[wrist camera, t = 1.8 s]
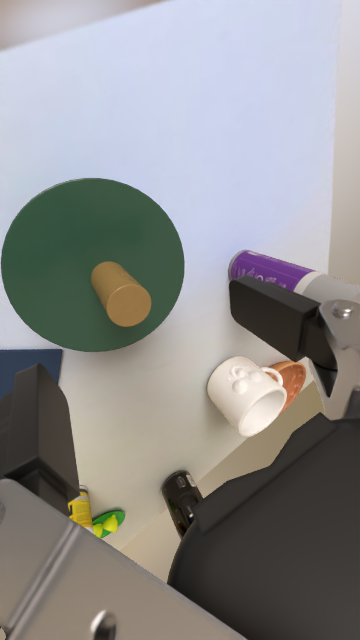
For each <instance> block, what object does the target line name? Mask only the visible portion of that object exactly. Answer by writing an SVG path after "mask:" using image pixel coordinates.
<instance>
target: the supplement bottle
mask: <svg viewBox="0 0 360 640" xmlns="http://www.w3.org/2000/svg"><path fill="white" fill-rule="evenodd" d="M79 487H80V494H81V495H80V496H79V497H77V498H76V499H74V500H72V501H71V502H69V503H68V509H69V518H70V519H72V520H73V521H75V522H77V523H78V524H80V525H81V526H83V527H84V528H86V529H87V530H89V531H90V532H92V533H94V529H93V523H92V517H91V510H90V504H89V497H88V491H87V488H86V487H84V486H79Z"/></svg>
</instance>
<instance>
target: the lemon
mask: <svg viewBox="0 0 360 640" xmlns="http://www.w3.org/2000/svg"><path fill="white" fill-rule="evenodd" d="M124 517H125V514H124V513H123V512H121V511H114V512H109V513H106V514H103V515H101V516H100V517H98V518H97V519H95V520H94V521H93V522H92V523H93V529H94V533H93V534H95V535H96V536H98V537H99V538H103V537H105V536H106V535H108V534H110V533H111V532H117V529H118V526H119V525H120V524H121V523H122V522H123V520H124Z"/></svg>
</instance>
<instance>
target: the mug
mask: <svg viewBox="0 0 360 640" xmlns="http://www.w3.org/2000/svg"><path fill="white" fill-rule="evenodd" d="M265 372H269V373H272V374H273V375H275V376H276V378H277V380H278V382H276V381H275V380H274V379H273V378H271V377H270V376H269V375H268V374H266V373H265ZM282 385H283V379H282V376H281V375H280V374H279V373H278V372H277V371H276V370H274V369H272V368H267V367H262V368H259V367H258V366H257V365H255V364H254V363H253V362H252V361H250V360H249V359H248V358H246V357H242V356H237V357H232V358H230V359H228V360H226V361H224V362H223V363H221V364H220V365H219V366H218V367H217V368H216V369H215V370H214V372H213V373H212V375H211V377H210V379H209V382H208V386H207V392H208V395H209V397H210V399H211V400H212V401H213V403H214V404H215V405H216V406H217V408H218V409H219V410H220V411H221V413H222V414H223V415H224V416H225V417H226V419H227V420H228V421H229V422H230V424H231V425H232V426H233V427H234V429H235V430H236V431H237V432H238V433H239V434H240V435H241V436H243V437H249V436H253V435H255V434H257V433H259V432H260V431H262V430H263V429H265V428H266V427H267V426H268V425H269V424H271V423H272V422H273V421H274V419H275V418H276V417H277V416H278V415H279V413H280V412H281V410H282V409H283V407H284V405H285V402H286V399H287V392H286V390H285V389H284V388H283V387H282Z"/></svg>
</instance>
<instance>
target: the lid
mask: <svg viewBox="0 0 360 640" xmlns="http://www.w3.org/2000/svg"><path fill="white" fill-rule="evenodd" d="M1 273H2V279H3V284H4V288H5V291H6V294H7V296H8V298H9V301H10V303H11V304H12V306H13V308H14V309H15V311H16V313H17V314H18V315H19V316H20V318H21V319H22V320H23V321H24V322H25V323H26V324H27V325H28V326H29V327H30V328H31V329H32V330H33V331H35V332H36V333H37V334H39V335H40V336H41V337H43V338H45V339H47V340H48V341H50V342H52V343H54V344H57V345H59V346H62V347H65V348H69V349H72V350H78V351H85V352H101V351H109V350H115V349H119V348H122V347H125V346H128V345H130V344H133V343H135V342H137V341H139V340H141V339H142V338H144V337H145V336H147V335H148V334H150V333H151V332H152V331H154V330H155V329H156V328H157V327H158V326H159V325H160V324H161V323H162V322H163V321H164V320H165V318H166V317H167V316H168V315H169V313H170V312H171V310H172V308H173V307H174V305H175V303H176V301H177V299H178V296H179V294H180V291H181V287H182V283H183V278H184V254H183V249H182V244H181V241H180V238H179V235H178V233H177V231H176V229H175V227H174V225H173V223H172V221H171V220H170V218H169V217H168V215H167V214H166V213H165V212H164V211H163V209H162V208H161V207H160V206H159V205H158V204H157V203H156V202H155V201H153V200H152V199H151V198H150V197H149V196H147V195H145V194H144V193H142V192H141V191H139V190H138V189H135V188H133V187H131V186H129V185H127V184H124V183H120V182H117V181H114V180H108V179H101V178H83V179H76V180H69V181H66V182H63V183H60V184H56V185H54V186H52V187H50V188H48V189H46V190H44V191H42V192H41V193H40V194H38V195H37V196H35V197H34V198H32V199H31V200H30V201H29V202H28V203H27V204H26V205H25V206H24V207H23V208H22V209H21V210H20V212H19V213H18V215H17V216H16V217H15V219H14V220H13V222H12V224H11V226H10V228H9V230H8V232H7V234H6V237H5V241H4V244H3V248H2V256H1Z"/></svg>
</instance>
